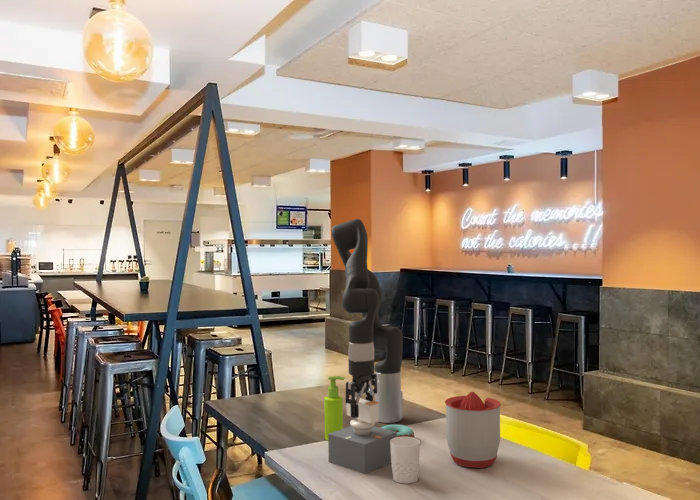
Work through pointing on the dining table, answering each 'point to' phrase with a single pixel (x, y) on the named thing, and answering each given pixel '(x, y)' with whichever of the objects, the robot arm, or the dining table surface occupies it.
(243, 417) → the dining table surface
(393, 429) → the donut
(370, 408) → the wing knob
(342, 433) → the box
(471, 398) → the citrus juicer
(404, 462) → the white cup
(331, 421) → the soap dispenser
